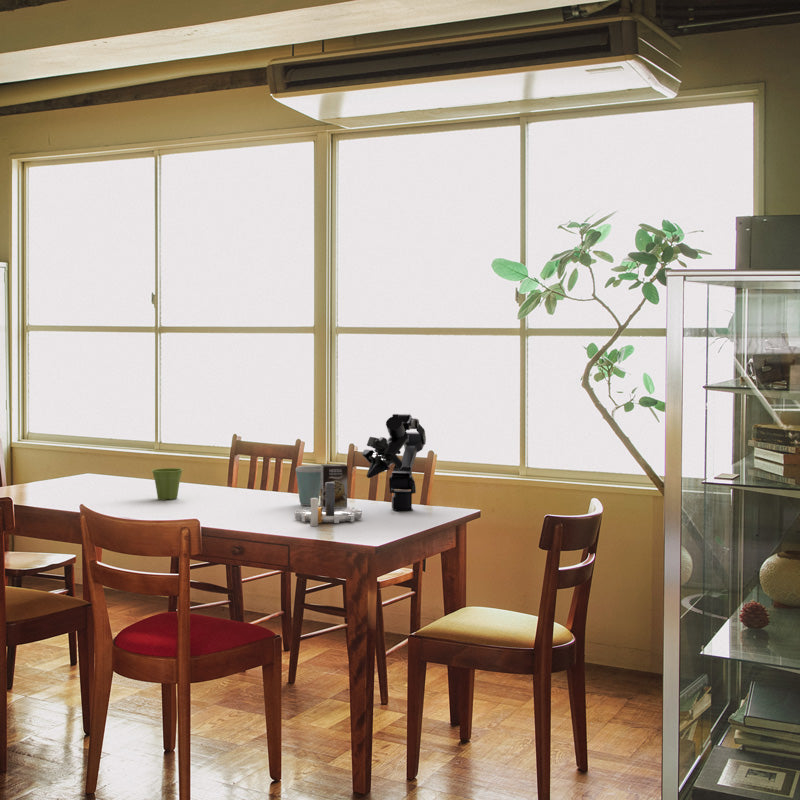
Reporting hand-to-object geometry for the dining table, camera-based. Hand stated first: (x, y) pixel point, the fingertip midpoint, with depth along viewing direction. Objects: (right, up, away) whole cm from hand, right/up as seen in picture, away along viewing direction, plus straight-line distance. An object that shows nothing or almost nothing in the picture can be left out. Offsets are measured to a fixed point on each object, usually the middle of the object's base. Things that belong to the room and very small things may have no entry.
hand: (367, 477), depth 338 cm
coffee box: (-13, -13, +15) cm, 24 cm away
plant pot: (-78, -11, +37) cm, 87 cm away
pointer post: (-17, -14, -18) cm, 29 cm away
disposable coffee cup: (-22, -12, +24) cm, 35 cm away
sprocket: (-13, -14, -5) cm, 20 cm away
